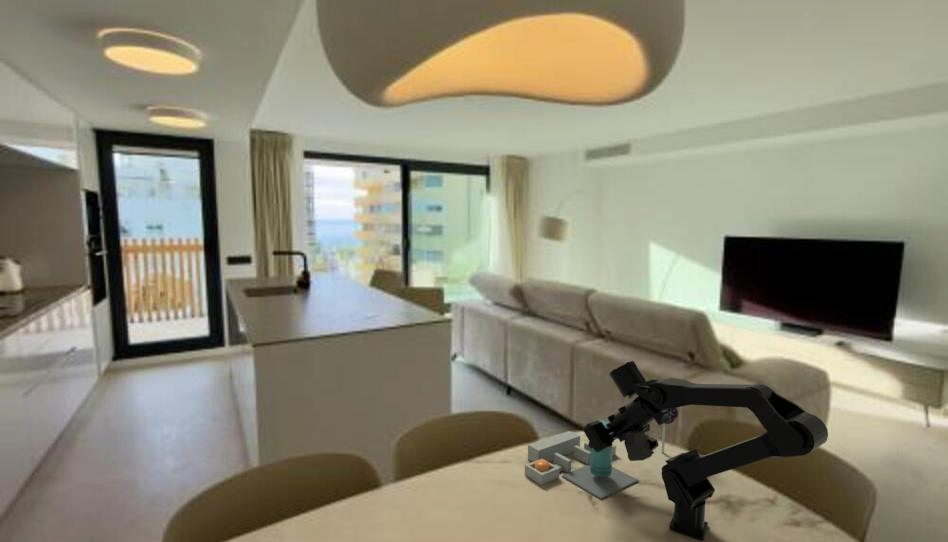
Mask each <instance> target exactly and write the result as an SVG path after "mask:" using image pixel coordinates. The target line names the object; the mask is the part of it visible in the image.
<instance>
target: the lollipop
mask: <svg viewBox="0 0 948 542" xmlns="http://www.w3.org/2000/svg"><path fill="white" fill-rule="evenodd" d="M665 410H667V411H669V420H670V421H669V422H667V423H664V424H662V438H661V454H665V441H666V440H665V439H666V425H669V424H672V423H674V422H675V421H676V420H677V418H678V417H679V411H678V407H676V408H670V409H665Z"/></svg>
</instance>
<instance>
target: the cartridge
mask: <svg viewBox="0 0 948 542" xmlns="http://www.w3.org/2000/svg"><path fill="white" fill-rule="evenodd" d="M594 421H595V420H593V421H592V422H594ZM599 421H600V422H602V423H603V425H604V426H605V428H606V429H609V428H608V427H607V426H606V424H608V423H610V421H607V420H599ZM610 428H611V427H610ZM612 434H613V433H612ZM610 435H611V434H610ZM612 459H613V456H612V447H611V448H608V449H606V450H603V451H601V452H596V451H595V450H594V448H592V449H591V461H590V472H591V473H592V474H593V475H595V476H598V477H608V476H610V475H611V471H612V467H613V464H612V463H613V460H612Z"/></svg>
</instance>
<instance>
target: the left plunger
mask: <svg viewBox="0 0 948 542" xmlns="http://www.w3.org/2000/svg"><path fill="white" fill-rule="evenodd" d="M549 463H550V461H549V462H548V461H546V460H536V461H535V469H536V470H538V471H540V472H541V473H543V472H545V471H548V470H549Z"/></svg>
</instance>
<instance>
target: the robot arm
mask: <svg viewBox="0 0 948 542" xmlns="http://www.w3.org/2000/svg"><path fill="white" fill-rule="evenodd" d="M608 376H609V378H610V379H611V381H612V382H613V384H614V386H615V387H616V388H617V390H618V392H619V394H621V397H623V398H626V397H627V398H628V399H632V398H633V400H632V401H630V402H629V403H628V404H627V405H624V406H620V407H619V408H618V409H617V410H618V411H617V412H616V413H614V414H611V415H609V416H608V417H607V420H608V422H609V423H608V424H606V426H607V427H608V428H609V429H606V428H605V426H604V425H603V423H602V422H600V421H601V420H593V421H594V422H593V421H590V422H589V423H586V424H585V425H584V426H583V427H582V430H583V432H584V434H585V436H586V438H587V440H588V442H589V444H588V445H589V447H590V449H592V448H594V450H595V451H596V452H601V451H603V450H606V449H608V448H611V447H612V444H613V443H614V442H615V440H619V442H620V443H622V442H624V443H623V444H624V447H625V450H626V454H627V458H628V460H629V461H631V462H636V461H637V462H638V461H645V460H647V459H649V458H651V457H652V455H654V454H655V451H654V450H656V449H657V448H658V447H659V446H660V445H659V442H658V439H656V438H655V437H652V436H649V434H647V433H649V432H651V431H650V430H651V427H650V426H651V425H650V423H651V422H653V421H655V422H656V423H657V425H659V426H663V424H664V423H667V422H669V421H670V420H669V411H667V410H665V409H670V408H680V407H685V406H707V407H709V406H710V407H731V408H747V409H748V410H749V411H751V412H752V413H753V415H754V416H755V417H756V418H757V420H758V421H759V423H760V424H761V426H762V427H763V428H764V429H765V432H763V433H762V434H760V435H757V436H754V437H751V438H749V439H746V440H742V441H741V442H738V443H735V444H732V445H730V446H727V447H724V448H721V449H719V450H716V451H712V452H710V453H707V454H700V453H699V451H698V449H697V447H695V448H693V449H691V450H689V451H687V452H681V453H679V454H677V455H674V456H673V457H671V458H668V459H666V460H665V461H664V462H665V465H663V466H662V467H661V477H662V481H663V484H664V487H665V491H666V495H667V499H668V501H670V502H672V503H673V504H674V509H673V516H672V517H671V520H670V523H669V524H668V528H669V530H671V531H674V532H677V533H680V534H683V535H685V536H687V537H691V538H695V539H697V540H701V541H704V540H705V537H706V533H707V529H708V526H709V523H708V522H707V521H705V517H706V516H705V515H706V500H708V499H711V498H712V497H713V496H714V493H715V492H716V489H715V488H714V486H713V484H712V483H711V481H710V480H709V478H710V477H712V476H715V475H718V474H722V473H724V472H728V471H731V470H734V469H737V468H740V467H744V466H746V465H747V466H748V465H749V464H753V463H756V462H758V461H762V460H763V461H764V460H766V459H769V458H793V457H795V458H796V457H802V456H807V455H808V454H810V453H812V452H813V451H815V450H816V449H818V448H819V447H821V446H822V445H824V444H826V443H827V442H828V438H829V431H828V427H827V425H826V424H825V423H824V422H823V420H822V419H821V418H819V417H817V416H816V415H815V414H812V413H809V412H808V411H806V410H805V409H803V408H802V407H801V406H799V405H798V404H797V403H795V402H793V401H792V400H790V399H787V398H786V397H783V396H782V395H780V394H778V393H776V392H775V391H774V389H772V388H771V387H769V386H768V385H766V384H764V383H755V384H737V383H735V384H732V383H731V384H729V383H727V384H725V383H719V384H718V383H717V384H716V383H713V384H712V383H694V382H691V381H688V380H686V379H683V378H676V377H667V378H664V379H649V380H647V379H645V377H644V376H643V374H642V372H641V371H640V369H639V368H638V365H637V364H636V363H635V361H634V360H631V361H627V362H626V363H625V364H622V365H621V366H619V367H617V368H615V369H612V370H611V371H610V372H609V374H608ZM635 397H636V398H635ZM610 427H611V428H610ZM612 433H613V434H612ZM610 434H611V435H610Z"/></svg>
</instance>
